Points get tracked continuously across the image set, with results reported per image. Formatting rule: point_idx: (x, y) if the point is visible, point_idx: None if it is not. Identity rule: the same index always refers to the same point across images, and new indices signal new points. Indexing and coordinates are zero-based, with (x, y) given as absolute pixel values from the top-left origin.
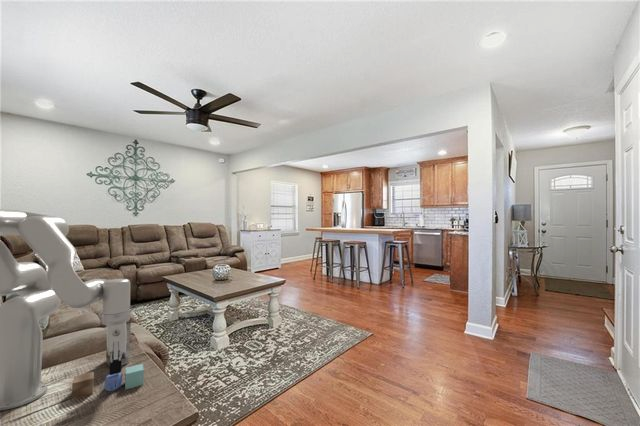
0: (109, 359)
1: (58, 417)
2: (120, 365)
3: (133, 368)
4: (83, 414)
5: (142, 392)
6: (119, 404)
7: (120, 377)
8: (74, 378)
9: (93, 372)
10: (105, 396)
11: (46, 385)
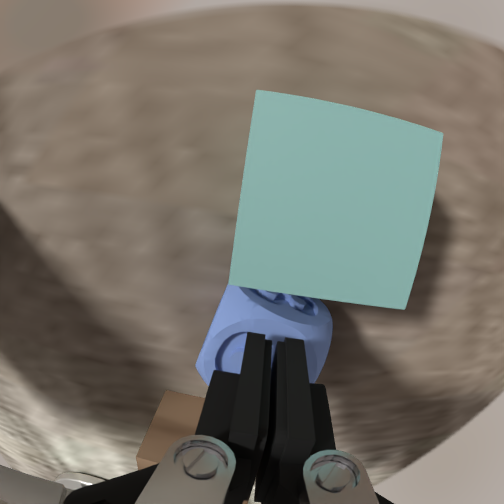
0: None
1: None
2: (306, 391)
3: (322, 214)
4: (428, 430)
5: (480, 184)
6: (491, 313)
7: (296, 312)
8: None
9: (147, 461)
10: (352, 364)
11: (80, 481)
